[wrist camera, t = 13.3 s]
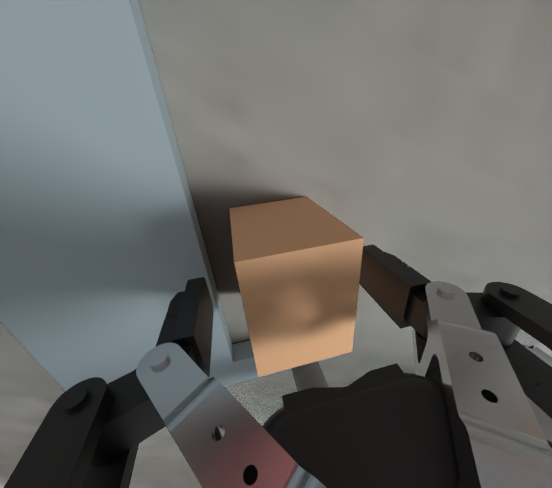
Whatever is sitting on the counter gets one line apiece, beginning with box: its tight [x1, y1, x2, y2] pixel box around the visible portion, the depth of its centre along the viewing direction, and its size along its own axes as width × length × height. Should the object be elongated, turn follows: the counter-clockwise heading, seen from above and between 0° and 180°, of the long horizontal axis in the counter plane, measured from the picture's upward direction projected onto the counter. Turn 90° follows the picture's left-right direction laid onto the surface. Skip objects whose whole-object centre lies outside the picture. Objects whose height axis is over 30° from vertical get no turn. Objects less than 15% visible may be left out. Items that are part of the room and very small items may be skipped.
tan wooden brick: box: [229, 197, 364, 377], centre depth 11 cm, size 5×6×6 cm
